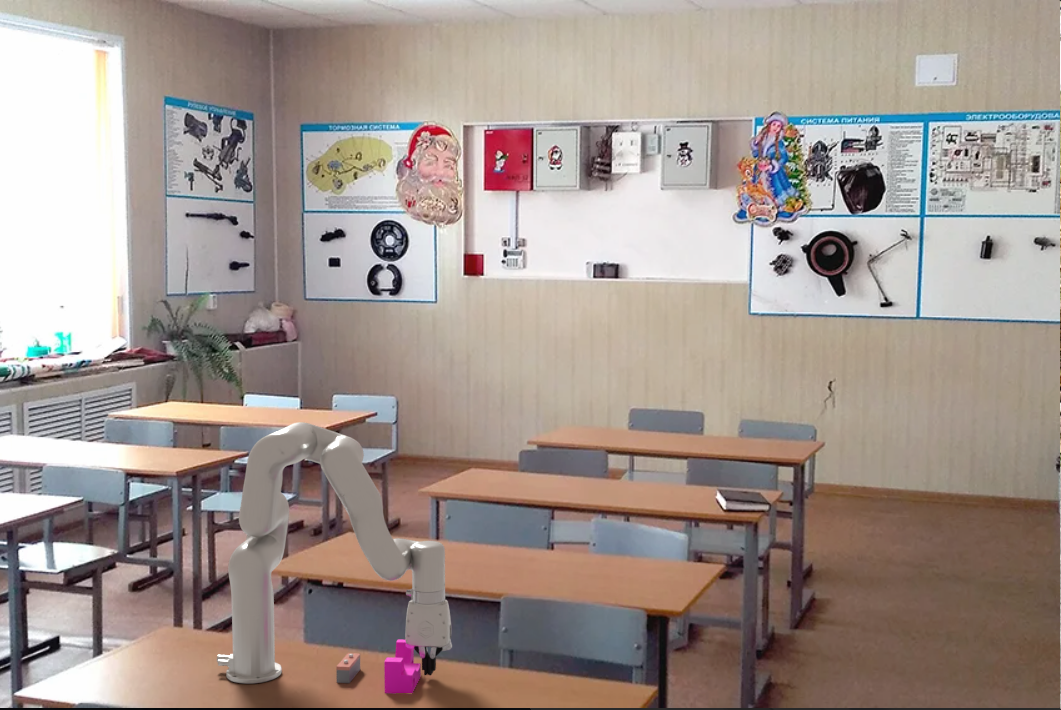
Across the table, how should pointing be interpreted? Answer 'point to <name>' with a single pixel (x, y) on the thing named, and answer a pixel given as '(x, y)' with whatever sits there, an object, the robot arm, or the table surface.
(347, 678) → the block
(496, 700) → the table surface
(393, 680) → the magenta curved block
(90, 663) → the table surface
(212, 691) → the table surface
